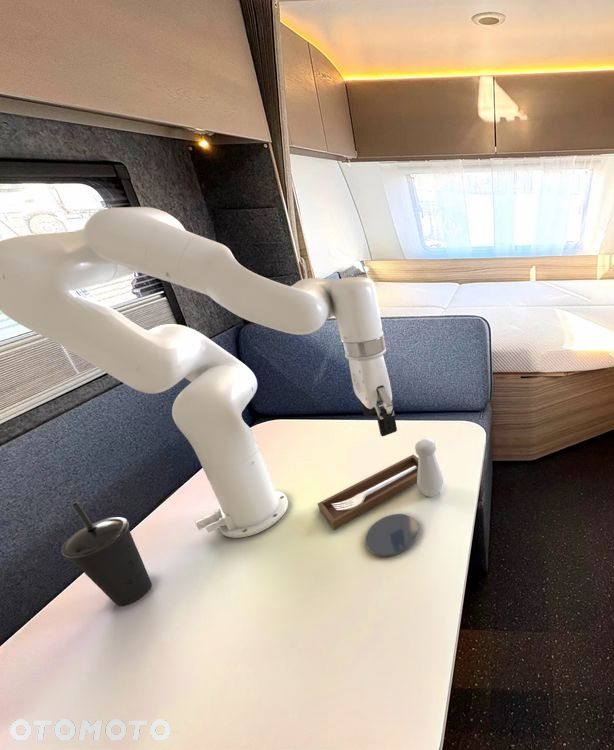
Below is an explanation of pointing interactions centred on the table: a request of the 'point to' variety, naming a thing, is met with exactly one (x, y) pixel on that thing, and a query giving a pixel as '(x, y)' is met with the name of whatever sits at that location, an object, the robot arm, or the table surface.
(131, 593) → the drinking cup
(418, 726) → the table surface
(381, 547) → the coaster
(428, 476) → the salt shaker
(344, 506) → the fork
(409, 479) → the cutlery tray
